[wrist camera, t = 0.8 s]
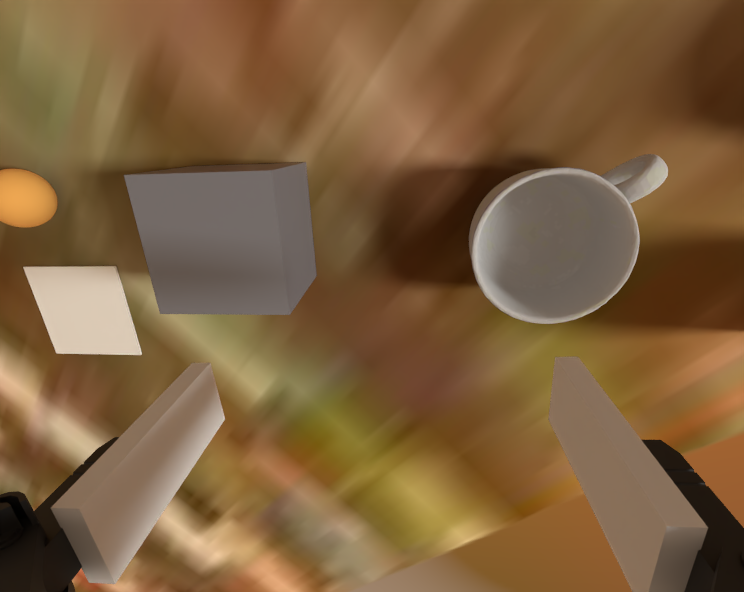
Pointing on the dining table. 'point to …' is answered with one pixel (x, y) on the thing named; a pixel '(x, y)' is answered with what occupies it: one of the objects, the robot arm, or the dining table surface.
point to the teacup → (560, 238)
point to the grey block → (226, 237)
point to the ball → (25, 198)
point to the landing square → (84, 309)
